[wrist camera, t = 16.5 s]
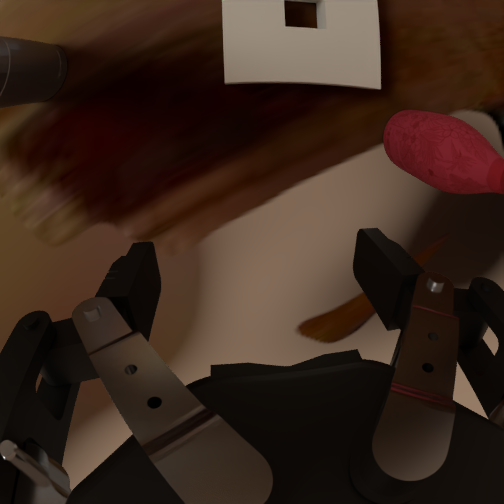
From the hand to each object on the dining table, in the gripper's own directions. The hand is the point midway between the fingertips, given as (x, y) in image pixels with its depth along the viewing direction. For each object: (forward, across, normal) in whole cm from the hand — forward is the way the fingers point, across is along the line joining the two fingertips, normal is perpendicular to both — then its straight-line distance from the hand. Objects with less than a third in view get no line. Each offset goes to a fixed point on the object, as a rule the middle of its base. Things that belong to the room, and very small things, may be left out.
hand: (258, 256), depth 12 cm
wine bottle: (+32, -26, -1) cm, 41 cm away
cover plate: (+32, -9, -18) cm, 38 cm away
